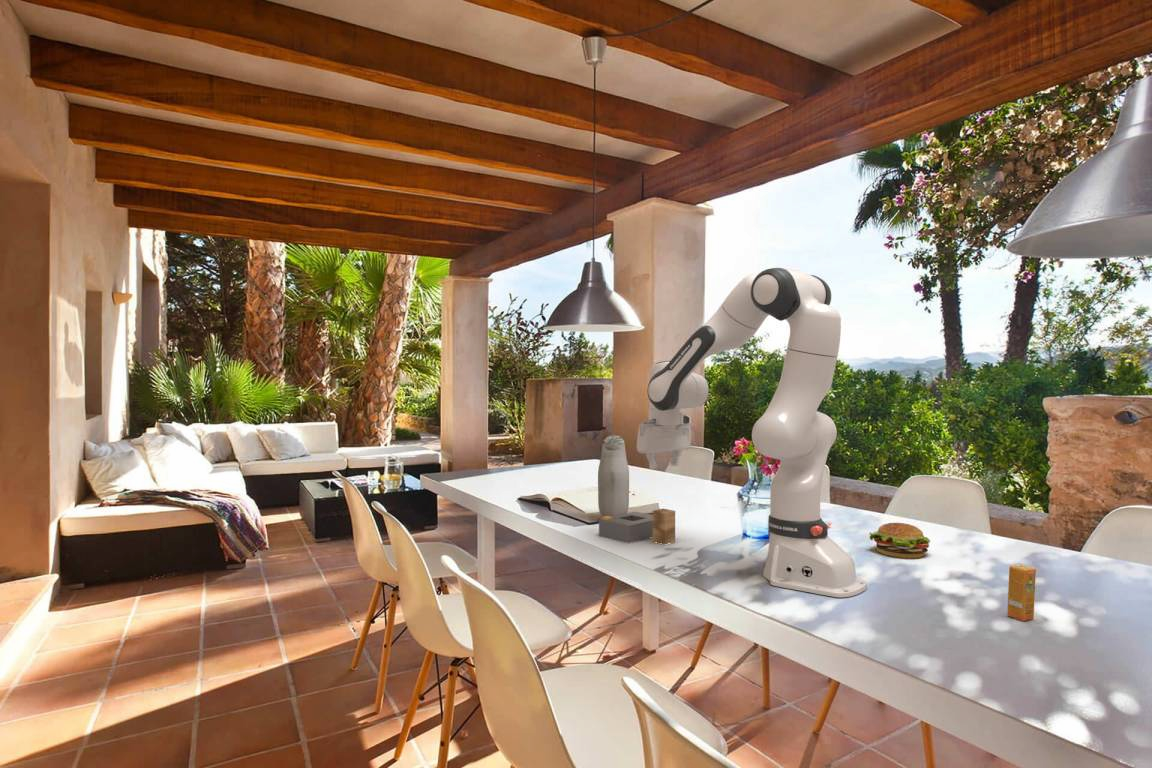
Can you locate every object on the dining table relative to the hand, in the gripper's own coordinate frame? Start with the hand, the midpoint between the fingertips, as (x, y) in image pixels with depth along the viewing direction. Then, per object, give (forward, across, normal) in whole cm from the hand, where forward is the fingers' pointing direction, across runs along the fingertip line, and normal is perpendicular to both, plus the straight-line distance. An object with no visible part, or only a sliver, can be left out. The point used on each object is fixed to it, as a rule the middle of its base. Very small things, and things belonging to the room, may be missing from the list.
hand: (664, 467), depth 186 cm
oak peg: (+21, 0, 0) cm, 21 cm away
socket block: (+21, 0, +12) cm, 24 cm away
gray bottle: (+22, +10, +29) cm, 38 cm away
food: (+21, +37, -50) cm, 66 cm away
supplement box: (+21, +4, -85) cm, 88 cm away
